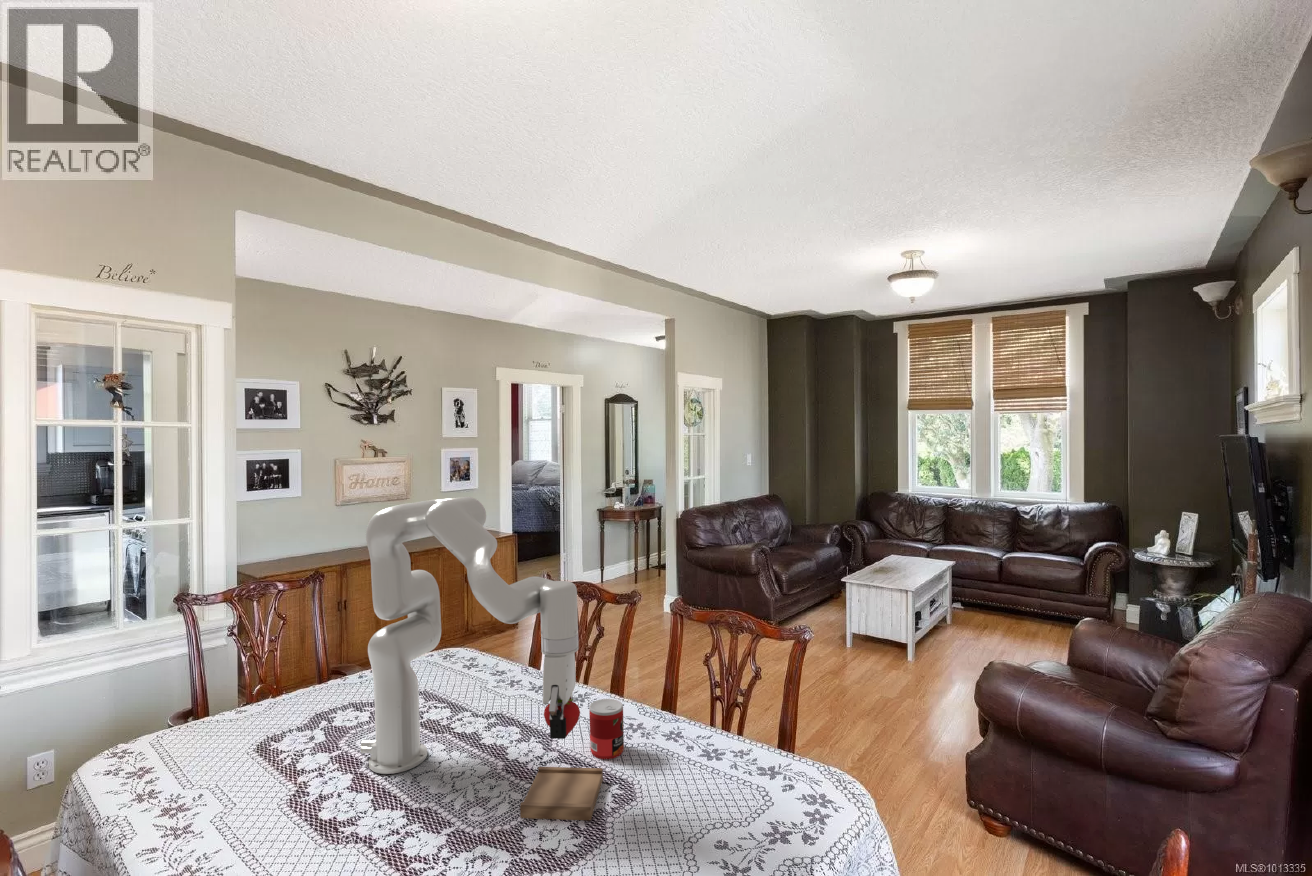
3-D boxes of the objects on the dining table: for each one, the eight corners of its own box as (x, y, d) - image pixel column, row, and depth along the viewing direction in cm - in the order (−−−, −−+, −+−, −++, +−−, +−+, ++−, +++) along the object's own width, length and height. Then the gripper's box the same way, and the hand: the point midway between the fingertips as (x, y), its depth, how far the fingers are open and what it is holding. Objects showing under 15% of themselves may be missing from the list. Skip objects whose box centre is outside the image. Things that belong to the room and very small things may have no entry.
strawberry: (577, 746, 127) (576, 697, 127) (540, 745, 128) (539, 696, 128) (583, 732, 133) (582, 685, 133) (548, 731, 134) (547, 684, 134)
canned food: (619, 761, 145) (618, 714, 144) (585, 758, 146) (584, 711, 146) (627, 745, 152) (626, 699, 152) (595, 742, 154) (594, 697, 154)
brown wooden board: (520, 818, 124) (520, 805, 124) (539, 778, 138) (539, 766, 138) (590, 820, 123) (590, 807, 123) (602, 780, 137) (602, 768, 137)
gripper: (552, 629, 139) (554, 711, 139) (530, 658, 122) (532, 751, 122) (586, 629, 138) (588, 711, 139) (568, 658, 121) (571, 751, 122)
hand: (562, 729), depth 131 cm, fingers closed on strawberry, 5 cm apart
